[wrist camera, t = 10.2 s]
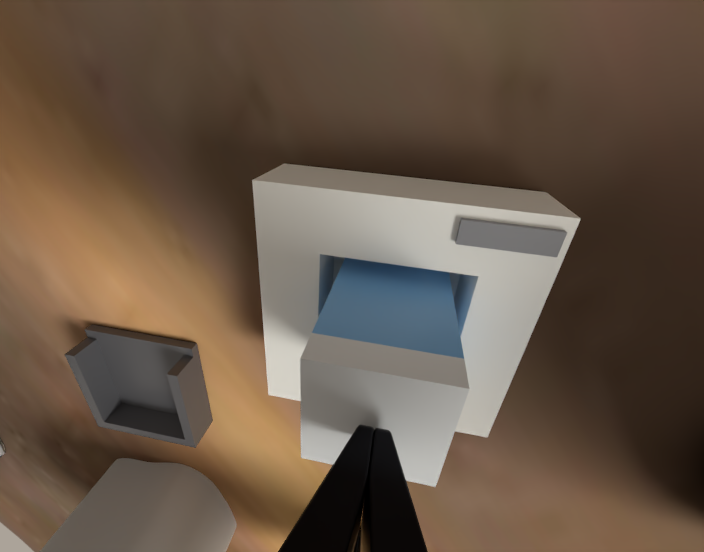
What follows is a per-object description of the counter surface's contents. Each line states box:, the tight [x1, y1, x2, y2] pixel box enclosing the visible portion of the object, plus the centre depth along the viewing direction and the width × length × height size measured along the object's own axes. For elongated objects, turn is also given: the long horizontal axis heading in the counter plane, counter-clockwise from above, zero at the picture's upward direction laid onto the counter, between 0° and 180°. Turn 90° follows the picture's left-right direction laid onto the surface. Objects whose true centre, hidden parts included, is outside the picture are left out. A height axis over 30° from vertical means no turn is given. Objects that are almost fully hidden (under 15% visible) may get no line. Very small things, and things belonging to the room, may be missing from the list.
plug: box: [300, 258, 470, 487], centre depth 12 cm, size 4×4×7 cm
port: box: [252, 163, 581, 437], centre depth 14 cm, size 10×10×3 cm
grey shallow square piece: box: [65, 324, 213, 448], centre depth 20 cm, size 7×7×2 cm
